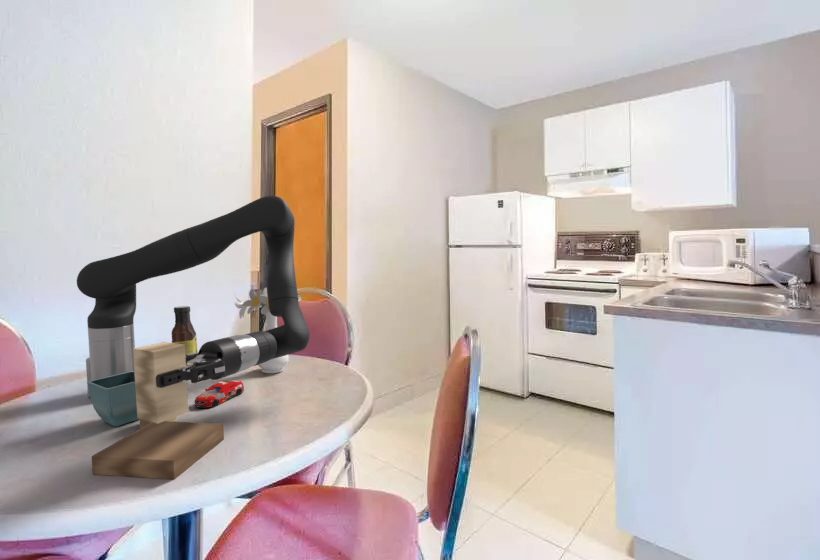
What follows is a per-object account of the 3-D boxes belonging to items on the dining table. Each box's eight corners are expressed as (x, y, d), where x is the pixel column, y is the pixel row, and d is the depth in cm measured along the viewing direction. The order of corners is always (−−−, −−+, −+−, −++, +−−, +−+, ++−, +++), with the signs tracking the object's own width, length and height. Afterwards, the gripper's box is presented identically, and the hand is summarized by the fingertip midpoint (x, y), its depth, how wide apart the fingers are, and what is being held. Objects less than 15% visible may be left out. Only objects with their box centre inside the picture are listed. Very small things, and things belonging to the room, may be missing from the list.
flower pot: (108, 433, 82) (106, 388, 82) (88, 423, 87) (86, 381, 86) (155, 418, 90) (153, 376, 89) (134, 410, 95) (132, 370, 94)
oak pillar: (137, 418, 72) (132, 348, 71) (168, 407, 77) (164, 341, 76) (157, 423, 69) (153, 351, 68) (188, 411, 74) (184, 344, 73)
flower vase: (236, 369, 127) (233, 286, 125) (299, 362, 134) (297, 284, 132) (237, 381, 115) (234, 290, 113) (306, 373, 122) (304, 287, 120)
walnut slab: (92, 474, 67) (91, 456, 67) (155, 435, 81) (154, 420, 81) (174, 479, 66) (173, 460, 66) (223, 439, 80) (223, 423, 79)
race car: (208, 411, 94) (207, 394, 94) (189, 409, 96) (188, 391, 96) (248, 392, 107) (247, 377, 106) (230, 390, 108) (230, 375, 108)
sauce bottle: (203, 375, 121) (200, 306, 120) (181, 380, 116) (178, 308, 114) (190, 371, 124) (187, 304, 123) (168, 377, 119) (165, 307, 118)
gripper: (204, 334, 88) (119, 353, 73) (255, 340, 82) (172, 362, 67) (206, 369, 89) (121, 395, 74) (256, 378, 82) (175, 408, 67)
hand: (146, 379), depth 70 cm, fingers closed on oak pillar, 5 cm apart
